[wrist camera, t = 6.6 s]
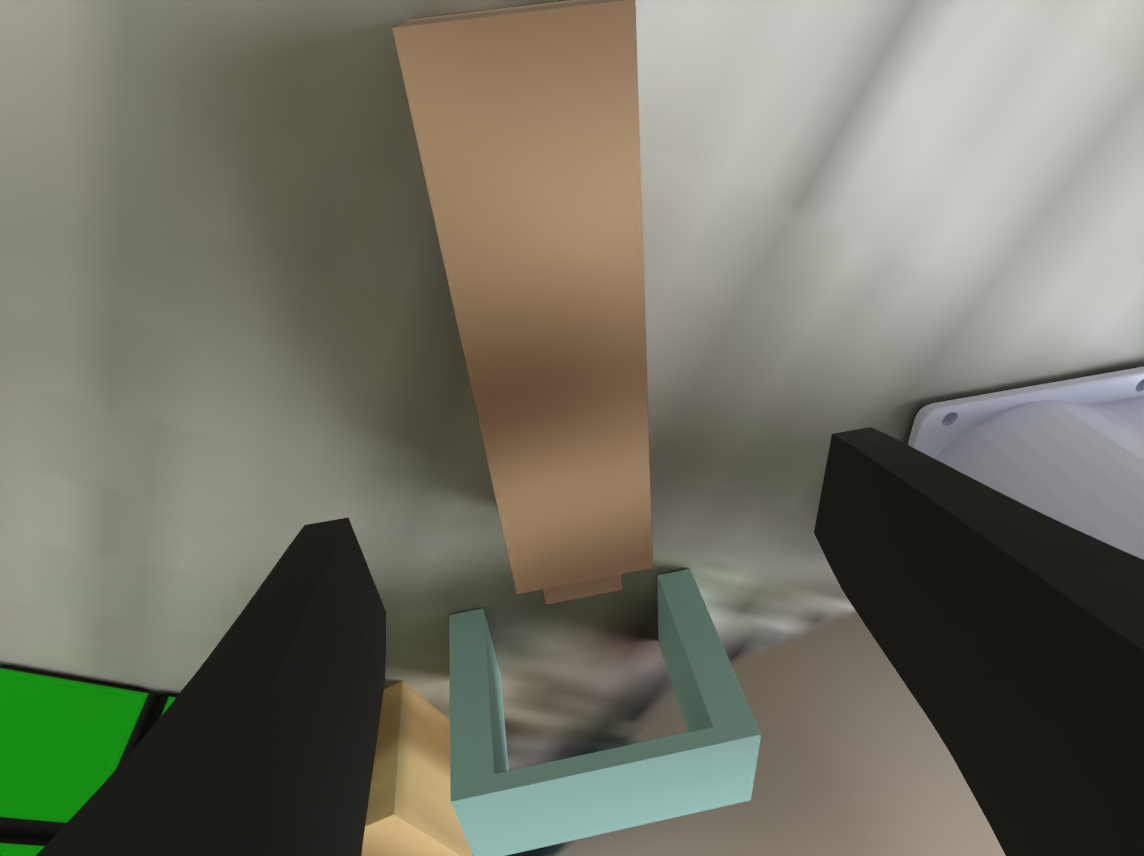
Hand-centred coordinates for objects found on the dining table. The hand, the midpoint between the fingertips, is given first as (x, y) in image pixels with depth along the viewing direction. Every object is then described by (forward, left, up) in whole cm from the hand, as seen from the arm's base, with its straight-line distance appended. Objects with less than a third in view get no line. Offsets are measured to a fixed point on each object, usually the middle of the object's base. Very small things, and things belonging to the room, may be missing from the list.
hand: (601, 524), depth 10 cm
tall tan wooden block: (0, 0, -9) cm, 9 cm away
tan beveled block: (+9, +18, -9) cm, 22 cm away
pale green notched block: (0, +13, -9) cm, 16 cm away
